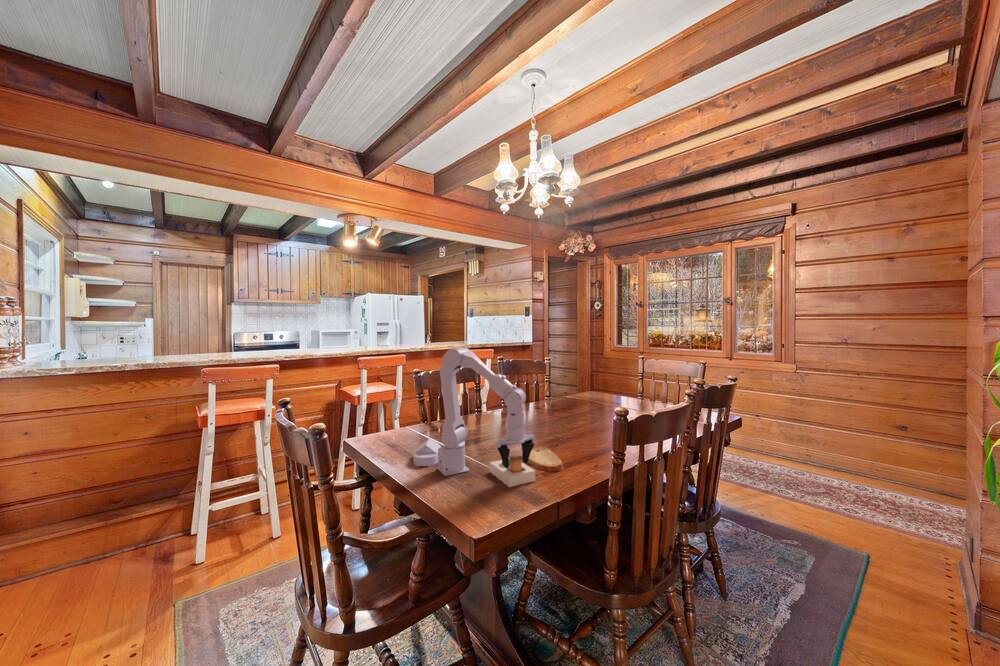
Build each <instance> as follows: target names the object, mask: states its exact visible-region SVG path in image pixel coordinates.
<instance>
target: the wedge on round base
mask: <svg viewBox="0 0 1000 666" xmlns="http://www.w3.org/2000/svg"><path fill="white" fill-rule="evenodd" d="M441 447H442V445H440V444H439V443H438V442H436V441H435V440H434V439H432V438H430V437H429V438H428V439H427V440H425V441H424V442H423V443H422V444H420V445H419V446H418V447H417V449H415V451H414V453H413V465H414V464H415V467H419V466H428V467H432V466H435V465H437V464H438V449H439V448H441ZM436 463H437V464H436ZM434 464H435V465H434ZM431 465H432V466H431Z"/></svg>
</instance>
